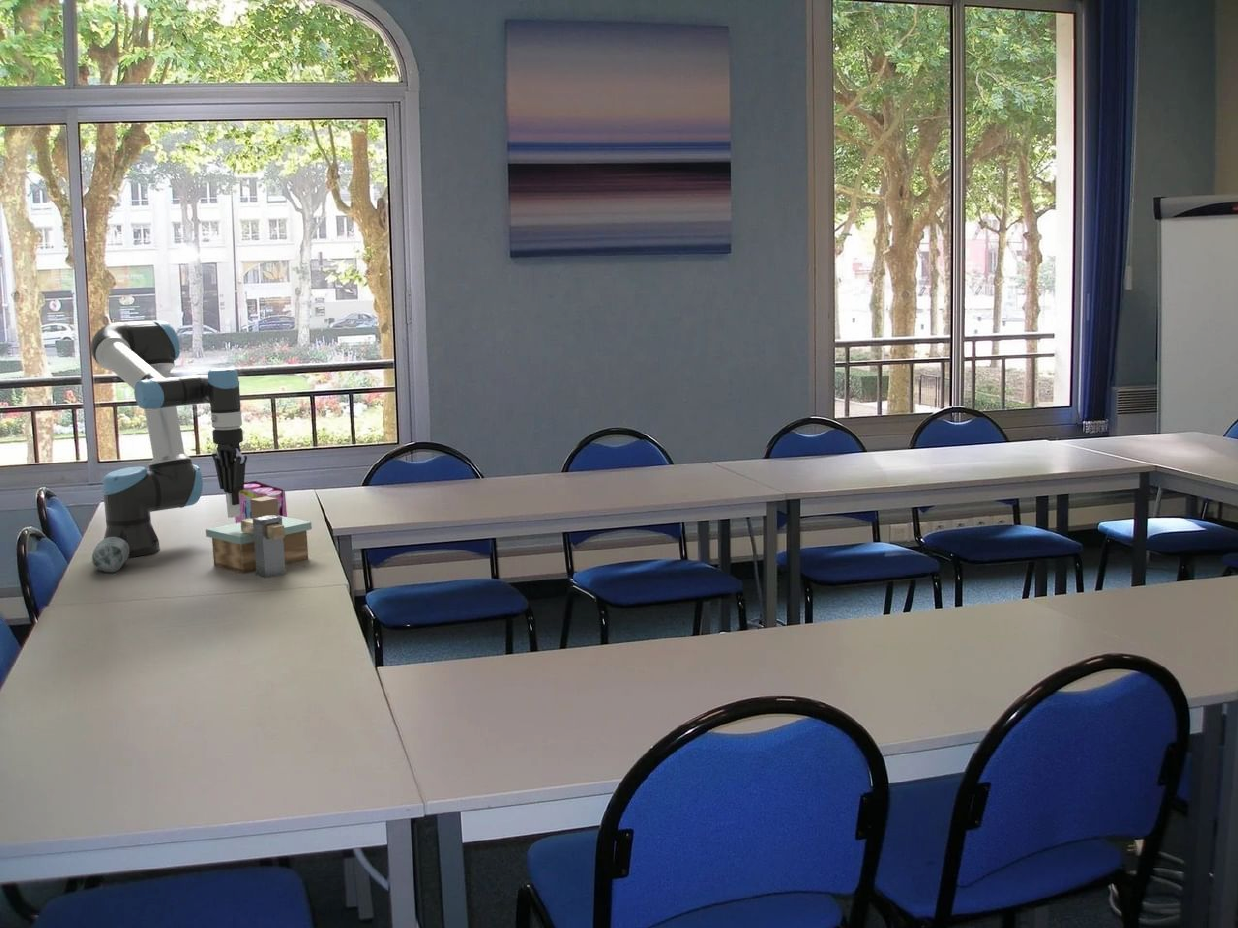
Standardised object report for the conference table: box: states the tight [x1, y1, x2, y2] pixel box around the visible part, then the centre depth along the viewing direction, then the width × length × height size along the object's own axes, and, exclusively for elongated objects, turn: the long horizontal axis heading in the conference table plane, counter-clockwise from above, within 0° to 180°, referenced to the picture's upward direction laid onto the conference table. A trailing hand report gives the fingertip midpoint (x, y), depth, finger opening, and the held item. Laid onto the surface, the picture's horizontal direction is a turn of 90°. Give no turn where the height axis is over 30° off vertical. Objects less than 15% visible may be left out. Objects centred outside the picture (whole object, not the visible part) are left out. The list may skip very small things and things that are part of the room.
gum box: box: [234, 480, 288, 523], centre depth 370 cm, size 24×8×14 cm, turn 38°
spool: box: [91, 537, 130, 573], centre depth 328 cm, size 14×10×10 cm
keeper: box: [253, 515, 286, 579], centre depth 317 cm, size 4×6×15 cm, turn 140°
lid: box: [205, 496, 313, 545], centre depth 330 cm, size 16×22×9 cm
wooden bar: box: [240, 519, 285, 539], centre depth 318 cm, size 15×3×3 cm, turn 50°
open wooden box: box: [211, 530, 309, 574], centre depth 332 cm, size 14×20×8 cm
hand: (234, 516), depth 326 cm, fingers closed
